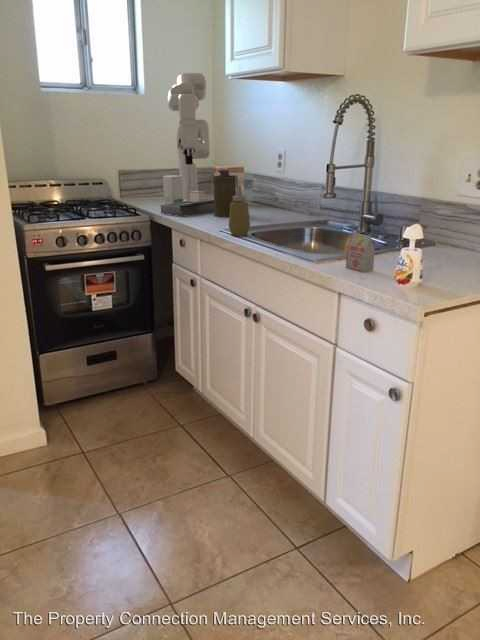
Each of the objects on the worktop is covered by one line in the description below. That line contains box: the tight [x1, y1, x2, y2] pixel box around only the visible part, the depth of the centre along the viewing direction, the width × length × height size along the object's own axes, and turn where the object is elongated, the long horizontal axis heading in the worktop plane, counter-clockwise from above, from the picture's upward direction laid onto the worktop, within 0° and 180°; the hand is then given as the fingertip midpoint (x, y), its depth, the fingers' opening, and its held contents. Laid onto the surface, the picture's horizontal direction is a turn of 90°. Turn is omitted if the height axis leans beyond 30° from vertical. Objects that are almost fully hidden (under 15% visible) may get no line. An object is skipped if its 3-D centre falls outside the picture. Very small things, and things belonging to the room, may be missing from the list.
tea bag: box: [345, 232, 375, 274], centre depth 153 cm, size 4×7×10 cm, turn 36°
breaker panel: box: [160, 199, 214, 217], centre depth 260 cm, size 24×14×5 cm, turn 137°
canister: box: [212, 170, 238, 218], centre depth 247 cm, size 11×10×20 cm
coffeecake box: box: [213, 165, 245, 196], centre depth 280 cm, size 15×7×20 cm, turn 92°
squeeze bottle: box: [228, 186, 251, 237], centre depth 201 cm, size 8×8×18 cm
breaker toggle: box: [190, 190, 206, 202], centre depth 262 cm, size 4×6×5 cm
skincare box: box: [162, 175, 183, 205], centre depth 274 cm, size 8×7×16 cm
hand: (189, 164), depth 258 cm, fingers closed
